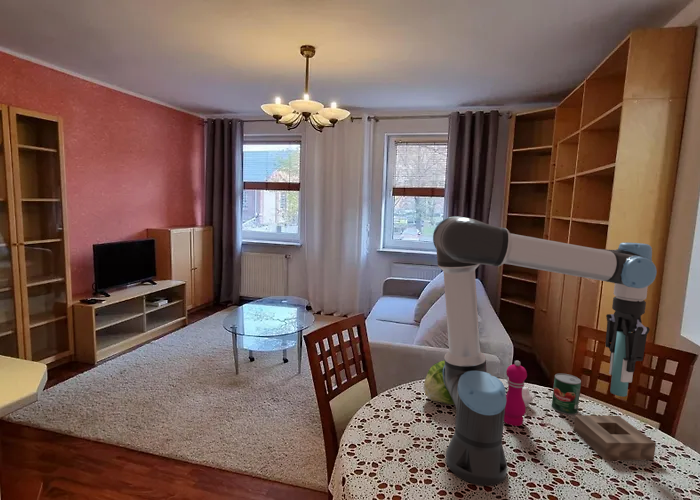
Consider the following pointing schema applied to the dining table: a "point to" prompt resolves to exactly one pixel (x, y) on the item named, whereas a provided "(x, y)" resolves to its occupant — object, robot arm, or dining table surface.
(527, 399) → the white citrus juicer
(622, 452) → the socket block
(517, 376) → the pepper mill
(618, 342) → the peg
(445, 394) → the lettuce
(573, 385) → the canned tomato
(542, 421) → the dining table surface
